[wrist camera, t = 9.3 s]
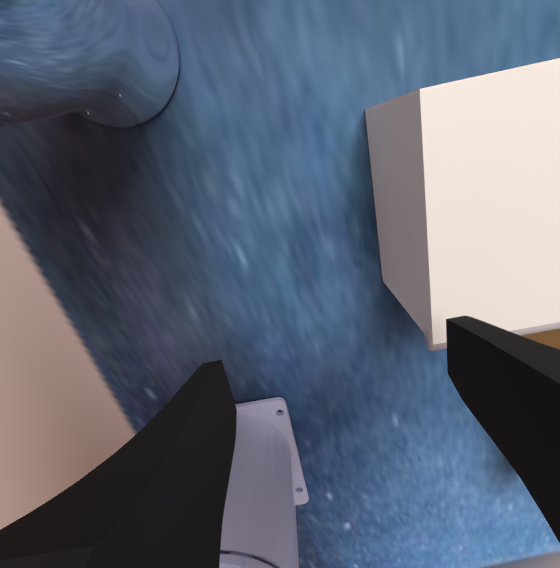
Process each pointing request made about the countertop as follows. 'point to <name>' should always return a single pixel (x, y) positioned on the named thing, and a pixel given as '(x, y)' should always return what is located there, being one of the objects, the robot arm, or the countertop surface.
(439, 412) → the countertop surface
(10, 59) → the beer glass
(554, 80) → the dispenser
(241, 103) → the countertop surface
